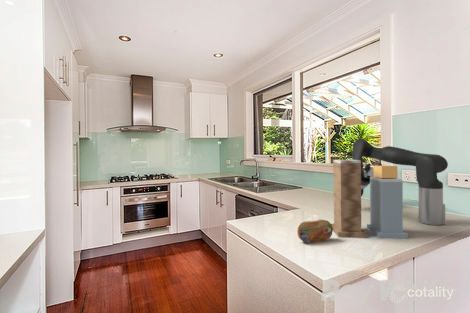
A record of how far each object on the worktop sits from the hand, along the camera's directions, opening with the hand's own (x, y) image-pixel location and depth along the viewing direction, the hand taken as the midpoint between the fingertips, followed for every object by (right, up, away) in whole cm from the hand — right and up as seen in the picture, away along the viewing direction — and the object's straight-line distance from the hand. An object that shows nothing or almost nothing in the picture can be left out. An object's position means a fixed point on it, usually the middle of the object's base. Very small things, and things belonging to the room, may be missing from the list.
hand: (375, 165), depth 113 cm
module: (-1, -5, -5) cm, 7 cm away
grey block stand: (-1, -29, -9) cm, 30 cm away
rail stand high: (-17, -29, -7) cm, 34 cm away
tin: (-34, -30, -16) cm, 48 cm away
